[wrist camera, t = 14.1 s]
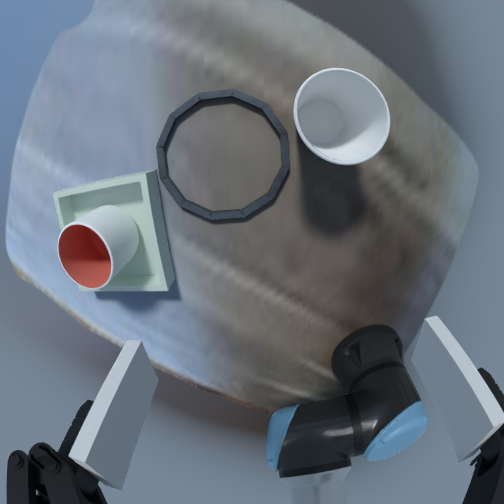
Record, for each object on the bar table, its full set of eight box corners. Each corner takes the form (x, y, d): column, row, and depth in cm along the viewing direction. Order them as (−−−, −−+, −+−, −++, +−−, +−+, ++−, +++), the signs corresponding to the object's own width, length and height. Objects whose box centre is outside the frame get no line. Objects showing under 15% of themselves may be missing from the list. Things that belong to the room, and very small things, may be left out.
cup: (129, 195, 39) (95, 213, 29) (150, 253, 42) (124, 284, 33) (83, 212, 40) (47, 233, 31) (104, 265, 44) (75, 294, 34)
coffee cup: (333, 170, 37) (361, 184, 26) (270, 134, 35) (274, 131, 24) (366, 113, 33) (405, 106, 22) (304, 74, 32) (323, 49, 21)
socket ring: (290, 212, 40) (291, 214, 39) (168, 221, 41) (166, 223, 40) (283, 87, 33) (284, 85, 32) (154, 102, 34) (152, 102, 33)
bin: (175, 278, 45) (168, 291, 41) (90, 280, 46) (79, 291, 42) (156, 169, 38) (145, 173, 34) (67, 187, 39) (52, 193, 35)
